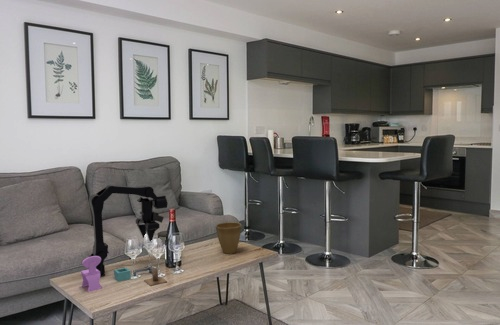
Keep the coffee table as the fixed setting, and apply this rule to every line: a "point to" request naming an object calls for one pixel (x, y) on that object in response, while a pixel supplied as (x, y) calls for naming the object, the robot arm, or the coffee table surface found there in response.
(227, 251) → the plant pot
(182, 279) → the coffee table surface
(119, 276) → the teal socket block
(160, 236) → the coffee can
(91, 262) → the toy chair
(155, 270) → the peg
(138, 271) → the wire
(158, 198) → the robot arm
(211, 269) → the coffee table surface
